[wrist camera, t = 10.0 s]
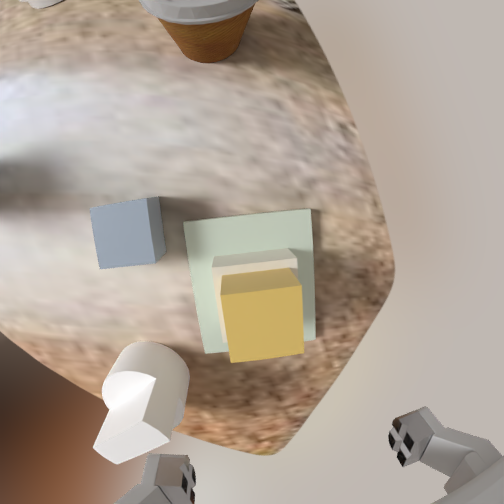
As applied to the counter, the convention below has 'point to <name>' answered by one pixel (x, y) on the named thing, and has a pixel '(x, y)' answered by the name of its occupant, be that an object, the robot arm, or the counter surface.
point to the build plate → (242, 241)
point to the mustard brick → (262, 314)
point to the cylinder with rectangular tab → (142, 400)
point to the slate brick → (128, 233)
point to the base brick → (248, 269)
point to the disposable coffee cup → (203, 25)
